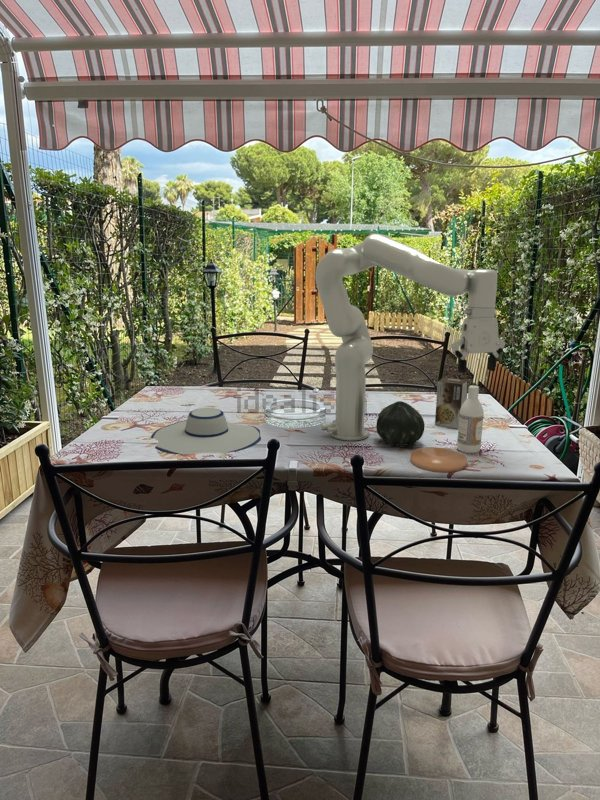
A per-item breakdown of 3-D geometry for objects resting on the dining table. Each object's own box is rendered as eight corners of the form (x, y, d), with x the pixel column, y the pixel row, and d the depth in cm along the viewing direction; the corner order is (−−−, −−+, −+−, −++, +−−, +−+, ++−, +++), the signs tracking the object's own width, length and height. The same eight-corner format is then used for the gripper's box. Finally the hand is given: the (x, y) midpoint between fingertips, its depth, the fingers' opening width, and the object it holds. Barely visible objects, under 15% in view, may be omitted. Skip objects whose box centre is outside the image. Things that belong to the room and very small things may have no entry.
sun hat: (136, 432, 187) (134, 407, 185) (232, 416, 206) (232, 393, 204) (173, 466, 158) (171, 435, 155) (282, 444, 176) (282, 416, 174)
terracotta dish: (425, 474, 151) (426, 469, 151) (401, 454, 166) (401, 449, 166) (477, 469, 155) (478, 464, 155) (449, 450, 170) (449, 445, 170)
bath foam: (472, 455, 166) (478, 390, 161) (452, 449, 171) (457, 386, 165) (484, 449, 170) (490, 386, 165) (464, 444, 175) (469, 382, 170)
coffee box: (465, 425, 195) (469, 380, 191) (459, 429, 190) (463, 384, 185) (440, 420, 200) (443, 377, 195) (433, 425, 194) (437, 380, 190)
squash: (409, 416, 186) (388, 387, 178) (440, 430, 173) (418, 399, 165) (382, 447, 184) (359, 419, 176) (411, 463, 171) (387, 434, 163)
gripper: (460, 315, 154) (456, 375, 158) (515, 313, 158) (509, 372, 162) (447, 313, 161) (443, 370, 165) (499, 311, 165) (494, 367, 170)
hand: (476, 371), depth 164 cm, fingers open, 9 cm apart
